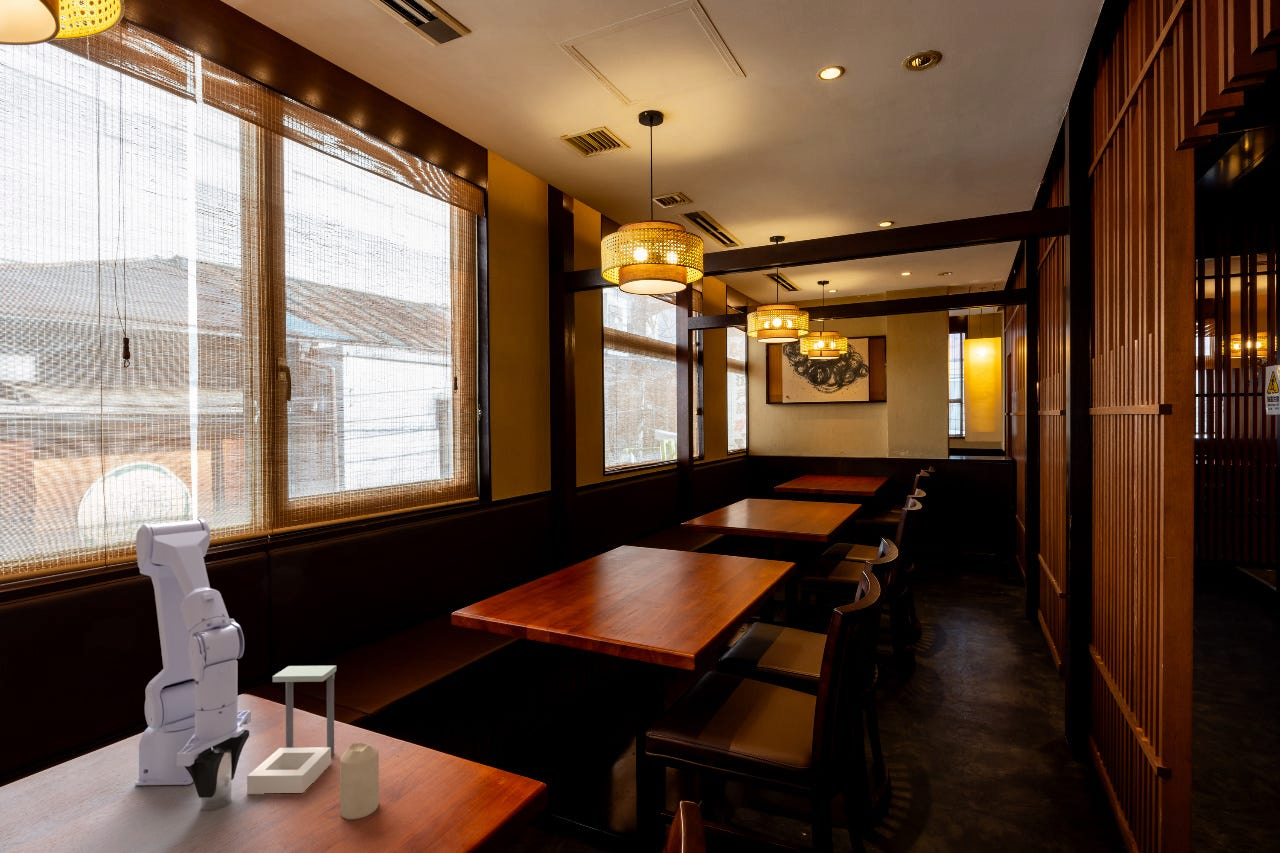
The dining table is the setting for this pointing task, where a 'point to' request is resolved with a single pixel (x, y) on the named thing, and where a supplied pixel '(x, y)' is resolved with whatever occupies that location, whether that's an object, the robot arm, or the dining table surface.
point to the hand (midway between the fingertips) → (216, 788)
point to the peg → (220, 783)
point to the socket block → (281, 779)
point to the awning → (308, 675)
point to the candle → (359, 781)
